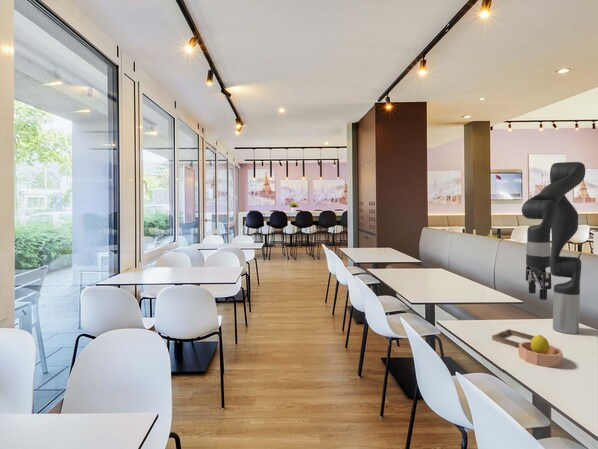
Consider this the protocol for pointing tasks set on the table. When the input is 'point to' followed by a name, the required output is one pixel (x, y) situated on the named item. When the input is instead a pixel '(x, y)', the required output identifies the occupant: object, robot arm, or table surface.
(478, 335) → the table surface
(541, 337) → the lemon
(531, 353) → the bowl
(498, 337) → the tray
